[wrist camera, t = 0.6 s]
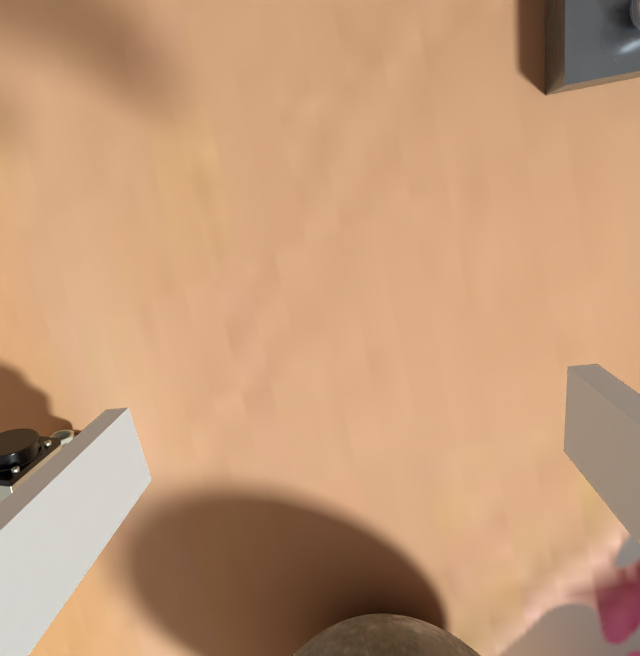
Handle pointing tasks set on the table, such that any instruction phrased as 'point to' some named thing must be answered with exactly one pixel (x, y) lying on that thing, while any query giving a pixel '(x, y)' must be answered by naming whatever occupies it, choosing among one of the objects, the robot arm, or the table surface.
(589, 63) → the hole plate
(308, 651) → the mottled grey sphere
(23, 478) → the pneumatic valve
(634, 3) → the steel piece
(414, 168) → the table surface
